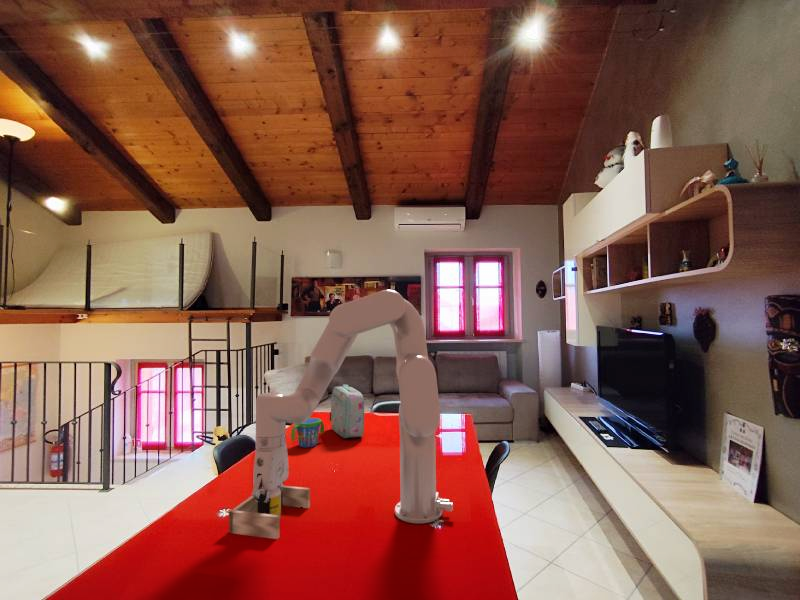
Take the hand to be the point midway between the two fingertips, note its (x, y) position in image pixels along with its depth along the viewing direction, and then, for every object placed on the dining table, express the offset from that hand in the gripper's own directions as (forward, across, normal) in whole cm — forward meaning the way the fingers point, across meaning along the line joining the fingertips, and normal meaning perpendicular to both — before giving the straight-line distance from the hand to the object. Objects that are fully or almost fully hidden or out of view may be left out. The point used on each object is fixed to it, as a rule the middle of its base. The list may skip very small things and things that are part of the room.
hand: (270, 510), depth 105 cm
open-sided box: (+2, 0, 0) cm, 2 cm away
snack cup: (+2, +60, +19) cm, 63 cm away
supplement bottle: (+2, 0, 0) cm, 2 cm away
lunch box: (+2, +80, +10) cm, 80 cm away
